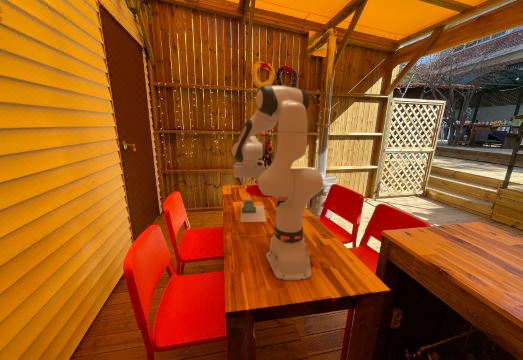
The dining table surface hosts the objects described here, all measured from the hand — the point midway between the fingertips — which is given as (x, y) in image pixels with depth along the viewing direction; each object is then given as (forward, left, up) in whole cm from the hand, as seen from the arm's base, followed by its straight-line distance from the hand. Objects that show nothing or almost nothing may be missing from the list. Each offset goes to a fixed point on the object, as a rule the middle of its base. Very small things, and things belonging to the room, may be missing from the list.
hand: (250, 184), depth 132 cm
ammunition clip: (+8, -23, -20) cm, 32 cm away
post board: (-4, -1, -19) cm, 20 cm away
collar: (+1, +1, -17) cm, 17 cm away
